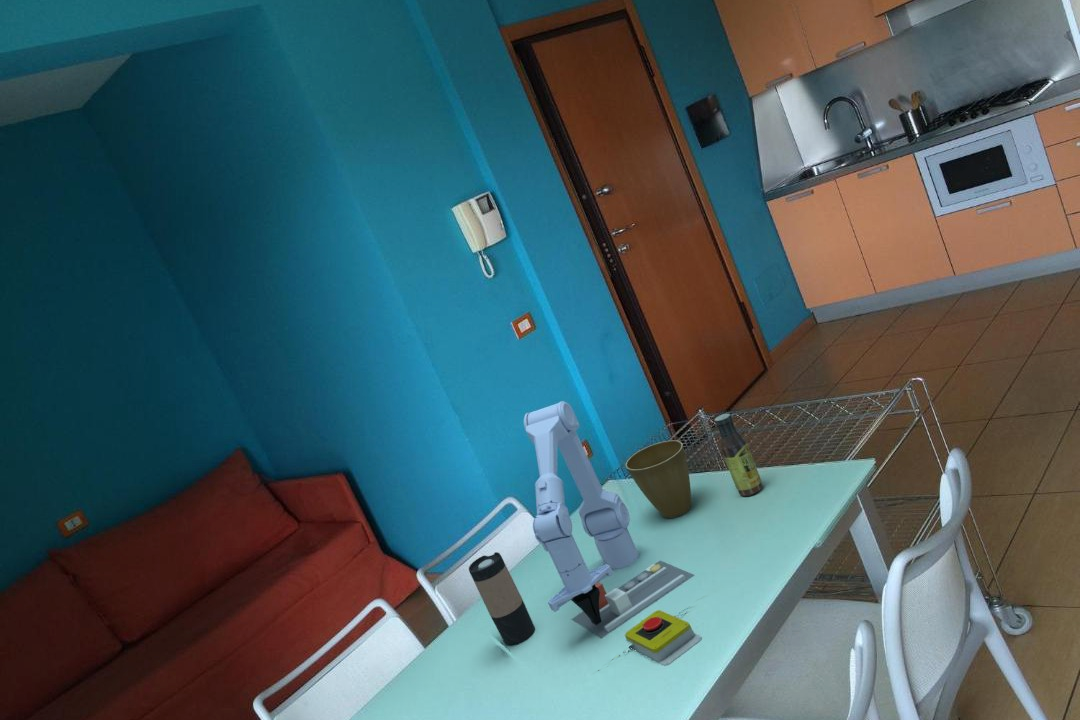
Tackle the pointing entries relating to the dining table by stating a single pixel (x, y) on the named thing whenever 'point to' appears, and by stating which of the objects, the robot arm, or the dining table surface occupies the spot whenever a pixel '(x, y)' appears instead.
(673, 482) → the plant pot
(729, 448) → the sauce bottle
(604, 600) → the block
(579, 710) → the dining table surface
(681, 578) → the panel
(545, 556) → the dining table surface
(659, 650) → the emergency button
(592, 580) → the robot arm
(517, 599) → the travel mug
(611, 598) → the lever
